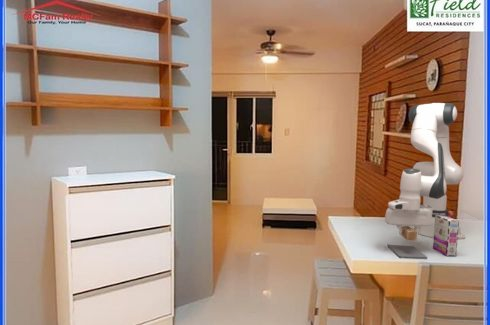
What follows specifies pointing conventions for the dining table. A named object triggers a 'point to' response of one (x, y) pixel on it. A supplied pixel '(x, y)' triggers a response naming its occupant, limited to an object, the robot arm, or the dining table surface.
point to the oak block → (409, 233)
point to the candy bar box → (445, 235)
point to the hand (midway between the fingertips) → (407, 234)
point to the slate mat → (407, 251)
